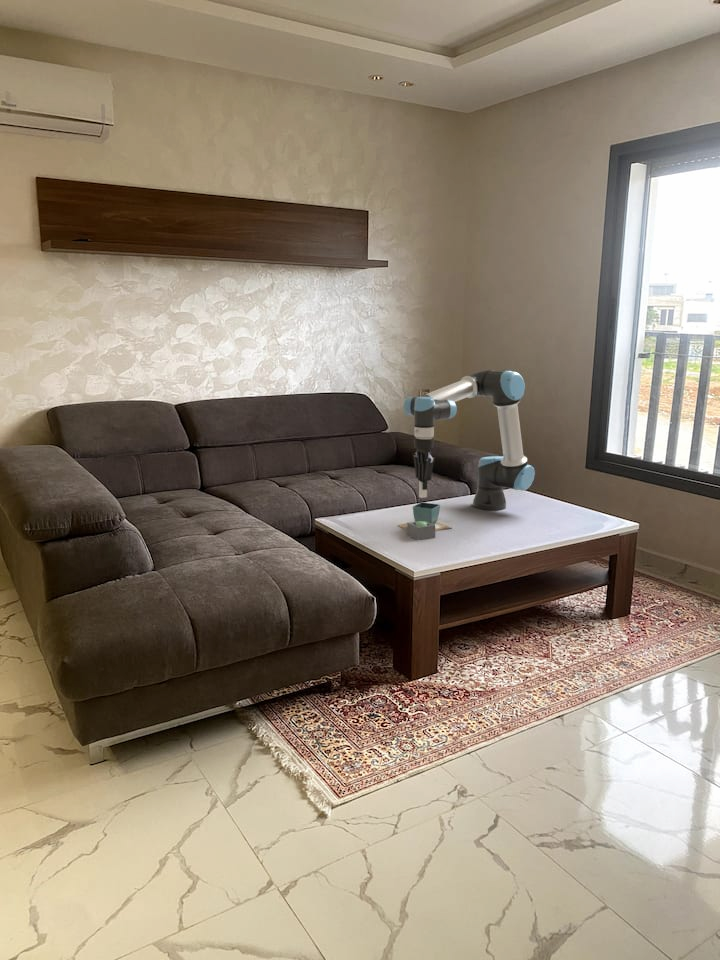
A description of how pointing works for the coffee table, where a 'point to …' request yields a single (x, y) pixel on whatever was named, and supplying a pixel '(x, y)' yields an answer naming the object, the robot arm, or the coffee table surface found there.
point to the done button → (421, 523)
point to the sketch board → (438, 526)
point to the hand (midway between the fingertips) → (422, 497)
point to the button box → (420, 531)
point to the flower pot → (426, 512)
